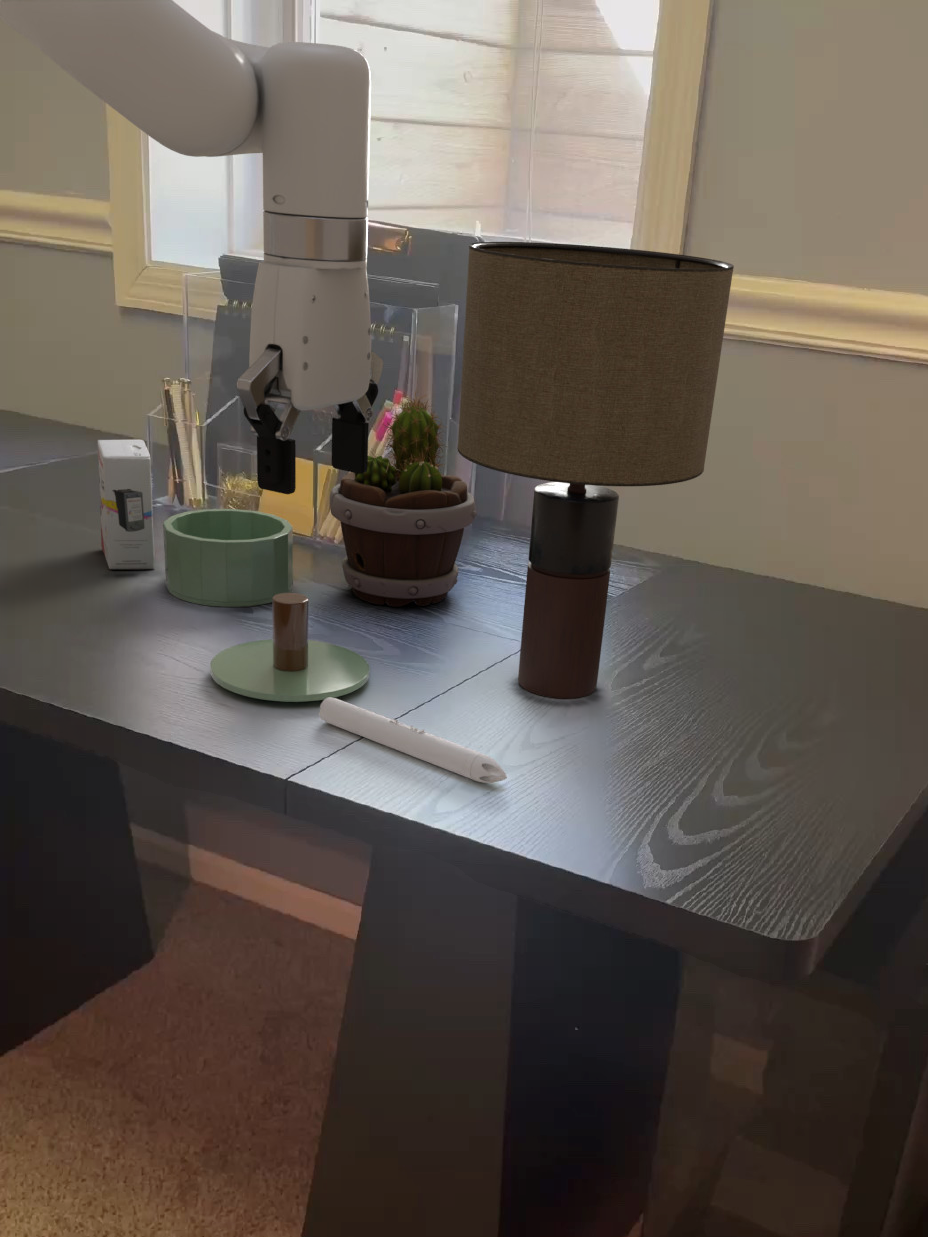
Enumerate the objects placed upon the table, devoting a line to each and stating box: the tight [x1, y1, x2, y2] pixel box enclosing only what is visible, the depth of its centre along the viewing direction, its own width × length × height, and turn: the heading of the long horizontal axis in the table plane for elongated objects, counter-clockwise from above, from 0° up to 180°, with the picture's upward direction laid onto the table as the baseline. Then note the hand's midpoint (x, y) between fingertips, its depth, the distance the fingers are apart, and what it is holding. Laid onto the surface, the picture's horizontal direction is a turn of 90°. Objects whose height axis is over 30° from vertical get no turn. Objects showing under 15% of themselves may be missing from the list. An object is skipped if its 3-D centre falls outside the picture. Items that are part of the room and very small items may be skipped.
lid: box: [209, 592, 371, 703], centre depth 111 cm, size 14×14×7 cm
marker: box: [318, 697, 508, 784], centre depth 100 cm, size 18×2×2 cm, turn 53°
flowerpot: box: [329, 387, 478, 608], centre depth 131 cm, size 14×15×20 cm
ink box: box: [97, 438, 156, 570], centre depth 137 cm, size 9×5×12 cm, turn 19°
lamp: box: [457, 241, 735, 699], centre depth 107 cm, size 20×20×35 cm
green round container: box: [162, 508, 294, 608], centre depth 132 cm, size 13×13×6 cm
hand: (314, 480), depth 103 cm, fingers open, 9 cm apart
